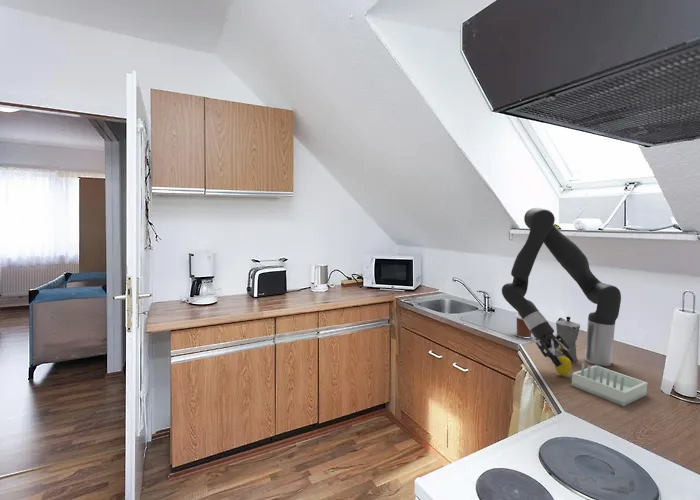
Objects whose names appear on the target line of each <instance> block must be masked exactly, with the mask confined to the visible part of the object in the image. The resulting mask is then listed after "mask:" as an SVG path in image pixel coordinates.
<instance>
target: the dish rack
mask: <svg viewBox="0 0 700 500" xmlns="http://www.w3.org/2000/svg"><path fill="white" fill-rule="evenodd" d="M571 386H573V388H574V387H575V388H577V389H580V390H582V391H584V392H587V393H589V394H592V395H594V396H597V397H600V398H602V399H604V400H607V401H609V402H612V403H614V404H617V405H619V406H622V407H626V406H627V405H630V404H631V403H633V402H635V401H638V400H639V399H643V397H644V398H645V396H647V392H648V382H647V381H644V380H641V379H638V378H636V377H633V376H629V375H625V374H623V373H620V372H617V371H614V370H611V369H609V368H605V367H604V366H600V365H595V364H594V365H592V366H591V365H587V367H586V368H585V363H581V369H579V370H577V371H574V372H572V378H571Z"/></svg>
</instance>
